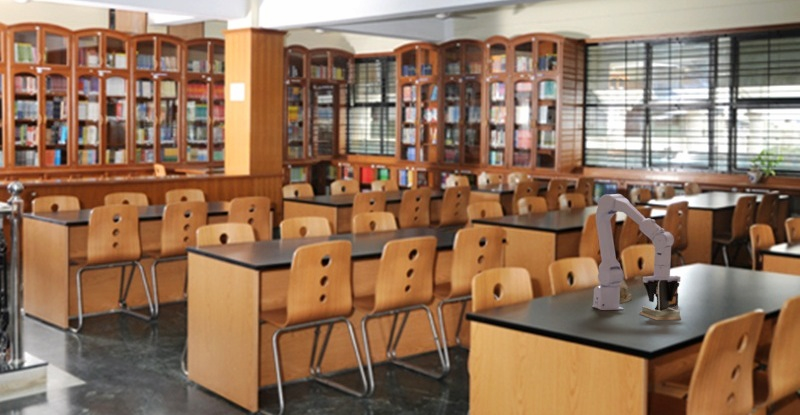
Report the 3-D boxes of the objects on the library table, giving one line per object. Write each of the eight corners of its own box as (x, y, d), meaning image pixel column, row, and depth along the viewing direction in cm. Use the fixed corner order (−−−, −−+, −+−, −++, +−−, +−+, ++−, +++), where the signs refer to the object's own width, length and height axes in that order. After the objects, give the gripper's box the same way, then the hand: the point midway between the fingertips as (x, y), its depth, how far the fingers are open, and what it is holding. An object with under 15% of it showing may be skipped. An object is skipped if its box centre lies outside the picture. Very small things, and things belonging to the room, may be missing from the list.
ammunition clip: (664, 308, 357) (666, 278, 356) (660, 308, 358) (661, 277, 357) (677, 305, 364) (679, 275, 363) (673, 304, 366) (675, 275, 365)
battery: (660, 306, 344) (659, 276, 343) (669, 307, 341) (669, 277, 340) (651, 310, 339) (650, 280, 337) (661, 311, 336) (660, 281, 335)
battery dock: (656, 320, 333) (656, 311, 333) (639, 313, 344) (639, 305, 344) (680, 319, 335) (681, 311, 335) (663, 313, 347) (663, 305, 347)
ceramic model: (617, 304, 365) (618, 279, 364) (593, 300, 373) (594, 275, 372) (636, 300, 375) (637, 276, 374) (612, 296, 383) (613, 272, 382)
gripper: (650, 266, 333) (648, 303, 334) (685, 266, 336) (684, 302, 337) (640, 264, 339) (638, 300, 340) (675, 263, 343) (673, 299, 344)
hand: (660, 301), depth 339 cm, fingers open, 7 cm apart
